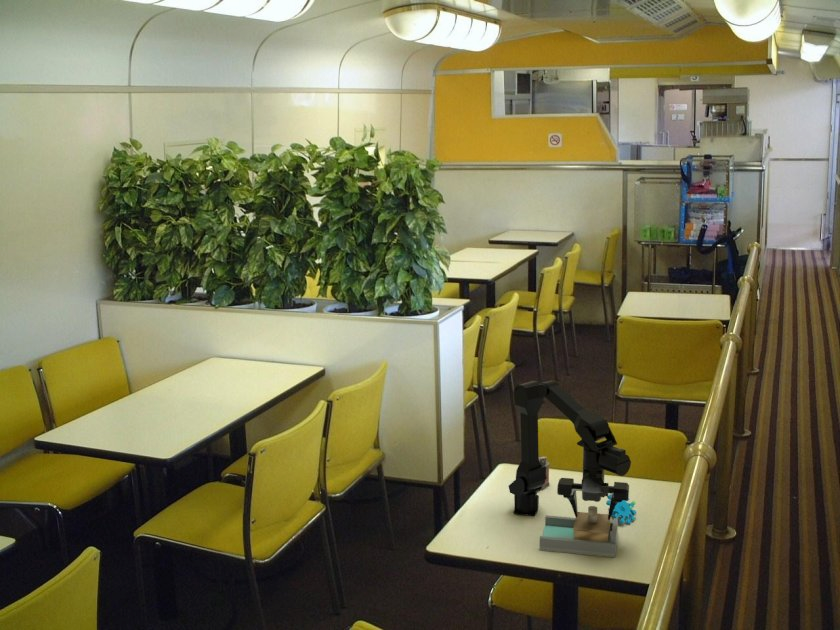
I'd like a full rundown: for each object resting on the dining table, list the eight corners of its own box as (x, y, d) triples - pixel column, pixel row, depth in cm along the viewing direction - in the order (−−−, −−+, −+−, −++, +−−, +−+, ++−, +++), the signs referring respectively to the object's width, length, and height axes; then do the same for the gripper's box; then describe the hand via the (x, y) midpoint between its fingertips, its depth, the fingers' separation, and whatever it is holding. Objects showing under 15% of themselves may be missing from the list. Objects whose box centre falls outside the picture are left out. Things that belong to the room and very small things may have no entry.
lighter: (543, 482, 290) (543, 452, 287) (551, 485, 287) (552, 455, 285) (527, 490, 284) (527, 460, 282) (535, 493, 282) (536, 463, 279)
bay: (539, 549, 247) (539, 532, 246) (545, 526, 260) (545, 510, 259) (615, 557, 242) (615, 539, 241) (617, 533, 255) (618, 516, 254)
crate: (573, 545, 246) (573, 514, 244) (576, 528, 256) (577, 498, 254) (608, 548, 244) (609, 517, 242) (610, 531, 253) (611, 501, 251)
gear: (619, 525, 256) (603, 492, 261) (606, 533, 260) (591, 501, 265) (645, 519, 263) (629, 487, 267) (632, 527, 267) (617, 496, 271)
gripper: (555, 473, 239) (554, 528, 243) (628, 479, 235) (626, 534, 238) (559, 457, 250) (559, 510, 254) (629, 462, 245) (628, 516, 249)
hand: (592, 517), depth 248 cm, fingers open, 8 cm apart
